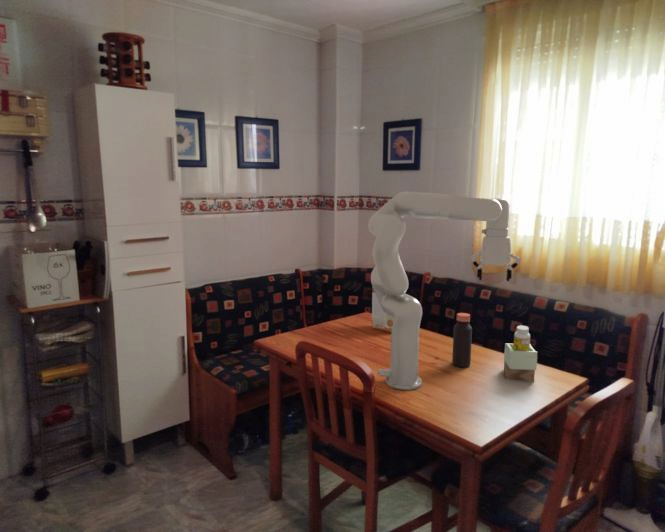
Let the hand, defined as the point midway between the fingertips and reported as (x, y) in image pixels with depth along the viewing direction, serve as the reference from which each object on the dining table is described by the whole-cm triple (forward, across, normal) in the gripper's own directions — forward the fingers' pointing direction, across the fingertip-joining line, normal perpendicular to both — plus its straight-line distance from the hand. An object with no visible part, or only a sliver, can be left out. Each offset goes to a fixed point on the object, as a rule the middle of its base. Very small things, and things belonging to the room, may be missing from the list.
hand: (493, 279), depth 178 cm
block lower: (+35, +10, -4) cm, 36 cm away
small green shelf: (+30, +10, -4) cm, 32 cm away
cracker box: (+34, -43, +39) cm, 68 cm away
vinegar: (+34, -10, +2) cm, 36 cm away
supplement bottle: (+25, +10, -4) cm, 28 cm away
